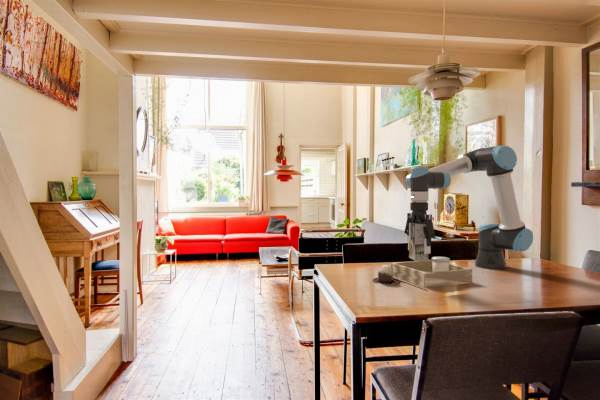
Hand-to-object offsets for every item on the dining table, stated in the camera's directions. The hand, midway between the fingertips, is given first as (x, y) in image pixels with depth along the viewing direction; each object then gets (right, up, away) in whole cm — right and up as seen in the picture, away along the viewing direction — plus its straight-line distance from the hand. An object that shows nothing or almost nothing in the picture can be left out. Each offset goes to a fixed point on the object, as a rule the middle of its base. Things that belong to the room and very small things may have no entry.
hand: (418, 251), depth 163 cm
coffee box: (0, -4, 0) cm, 4 cm away
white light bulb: (+11, -13, +5) cm, 17 cm away
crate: (+6, -14, +2) cm, 15 cm away
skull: (-14, -14, +3) cm, 20 cm away
